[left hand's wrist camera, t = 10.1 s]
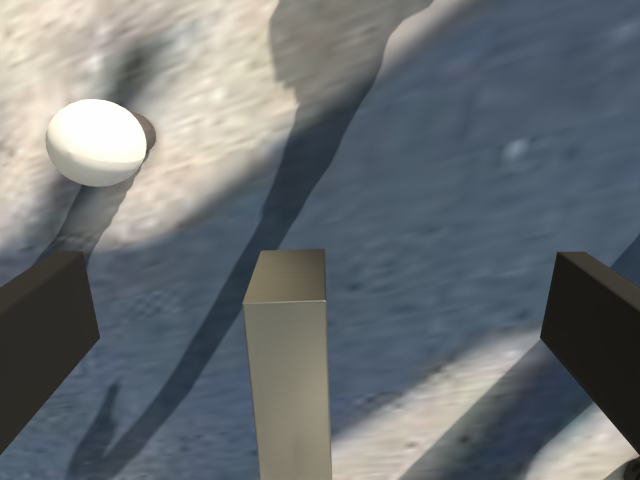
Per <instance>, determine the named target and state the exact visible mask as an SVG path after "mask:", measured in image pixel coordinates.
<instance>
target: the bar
mask: <svg viewBox="0 0 640 480" xmlns="http://www.w3.org/2000/svg"><path fill="white" fill-rule="evenodd" d="M242 307H243V316H244V326H245V335H246V345H247V354H248V364H249V373H250V383H251V392H252V402H253V411H254V421H255V430H256V440H257V449H258V459H259V468H260V478H261V480H332V461H331V429H330V397H329V366H328V334H327V302H326V270H325V249H301V250H268V251H261V252H260V255H259V258H258V261H257V264H256V266H255V269H254V272H253V275H252V278H251V281H250V283H249V286H248V289H247V292H246V295H245V297H244V300H243V303H242Z"/></svg>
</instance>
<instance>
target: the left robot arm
mask: <svg viewBox="0 0 640 480" xmlns="http://www.w3.org/2000/svg"><path fill="white" fill-rule="evenodd" d="M99 338H100V335H99V330H98V325H97V320H96V315H95V310H94V306H93V301H92V296H91V291H90V286H89V281H88V276H87V271H86V266H85V261H84V256H83V252H54V253H52V254H51V255H49V256H48V257H46V258H45V259H43V260H42V261H40V262H39V263H37V264H36V265H34V266H32V267H31V268H29V269H28V270H26V271H25V272H23V273H22V274H20V275H19V276H17V277H16V278H14V279H13V280H11V281H10V282H8V283H6V284H5V285H3V286H2V287H0V455H1V454H2V453H3V451H4V450H5V449H6V448H7V447H8V445H9V444H10V443H11V442H12V441H13V440H14V438H15V437H16V436H17V435H18V434H19V433H20V431H21V430H22V429H23V428H24V427H25V425H26V424H27V423H28V422H29V421H30V420H31V418H32V417H33V416H34V415H35V414H36V412H37V411H38V410H39V409H40V408H41V407H42V405H43V404H44V403H45V402H46V401H47V400H48V398H49V397H50V396H51V395H52V394H53V392H54V391H55V390H56V389H57V388H58V387H59V385H60V384H61V383H62V382H63V381H64V380H65V378H66V377H67V376H68V375H69V374H70V372H71V371H72V370H73V369H74V368H75V367H76V365H77V364H78V363H79V362H80V361H81V359H82V358H83V357H84V356H85V355H86V354H87V352H88V351H89V350H90V349H91V348H92V347H93V345H94V344H95V343H96V342H97V341H98V339H99ZM540 338H541V339H542V341H543V342H544V343H545V344H546V345H547V347H548V348H549V349H550V350H551V351H552V352H553V354H554V355H555V356H556V357H557V358H558V359H559V361H560V362H561V363H562V364H563V365H564V367H565V368H566V369H567V370H568V371H569V372H570V374H571V375H572V376H573V377H574V378H575V380H576V381H577V382H578V383H579V384H580V385H581V387H582V388H583V389H584V390H585V391H586V392H587V394H588V395H589V396H590V397H591V398H592V400H593V401H594V402H595V403H596V404H597V405H598V407H599V408H600V409H601V410H602V411H603V412H604V414H605V415H606V416H607V417H608V418H609V420H610V421H611V422H612V423H613V424H614V425H615V427H616V428H617V429H618V430H619V431H620V433H621V434H622V435H623V436H624V437H625V438H626V440H627V441H628V442H629V443H630V444H631V445H632V447H633V448H634V449H635V450H636V451H637V453H638V454H639V455H640V287H638V286H637V285H635V284H634V283H632V282H630V281H629V280H627V279H626V278H624V277H623V276H621V275H620V274H618V273H617V272H615V271H614V270H612V269H611V268H609V267H608V266H606V265H604V264H603V263H601V262H600V261H598V260H597V259H595V258H594V257H592V256H591V255H589V254H588V253H586V252H557V256H556V261H555V266H554V271H553V276H552V281H551V286H550V291H549V296H548V301H547V306H546V310H545V315H544V320H543V325H542V330H541V335H540Z"/></svg>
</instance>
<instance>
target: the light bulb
mask: <svg viewBox="0 0 640 480" xmlns="http://www.w3.org/2000/svg"><path fill="white" fill-rule="evenodd" d="M155 140H156V133H155V130H154V128H153V126H152V124H151V123H150V122H149V121H148V120H147V119H146V118H145V117H143V116H141V115H140V114H137V113H133V112H129V111H127V110H126V109H125V108H123V107H121V106H119V105H117V104H115V103H112V102H109V101H105V100H95V99H89V100H82V101H78V102H75V103H72V104H70V105H68V106H66V107H65V108H63V109H62V110H60V111H59V112H58V113H57V114H56V115H55V116H54V118H53V119H52V121H51V123H50V124H49V126H48V129H47V132H46V148H47V152H48V155H49V157H50V159H51V161H52V163H53V164H54V165H55V167H56V168H57V169H58V170H59V171H60V172H61V173H62V174H63V175H64V176H66V177H67V178H69V179H70V180H73V181H75V182H77V183H80V184H83V185H87V186H94V187H104V186H111V185H114V184H117V183H120V182H123V181H124V180H126V179H128V178H129V177H130V176H132V175H133V174H134V173H135V172H136V171H137V170H138V168H139V167H140V166H141V164H142V162H143V160H144V157H145V154H146V151H148V150H150V149H151V148H152V147H153V146H154V144H155Z"/></svg>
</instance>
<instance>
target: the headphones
mask: <svg viewBox="0 0 640 480" xmlns="http://www.w3.org/2000/svg"><path fill="white" fill-rule="evenodd" d="M624 480H640V456H639V457H638V458H636V459H635V460H634V461H633V462H632V463H631V464H630V465H629V466H628V468H627V469H626V471H625V474H624Z"/></svg>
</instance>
